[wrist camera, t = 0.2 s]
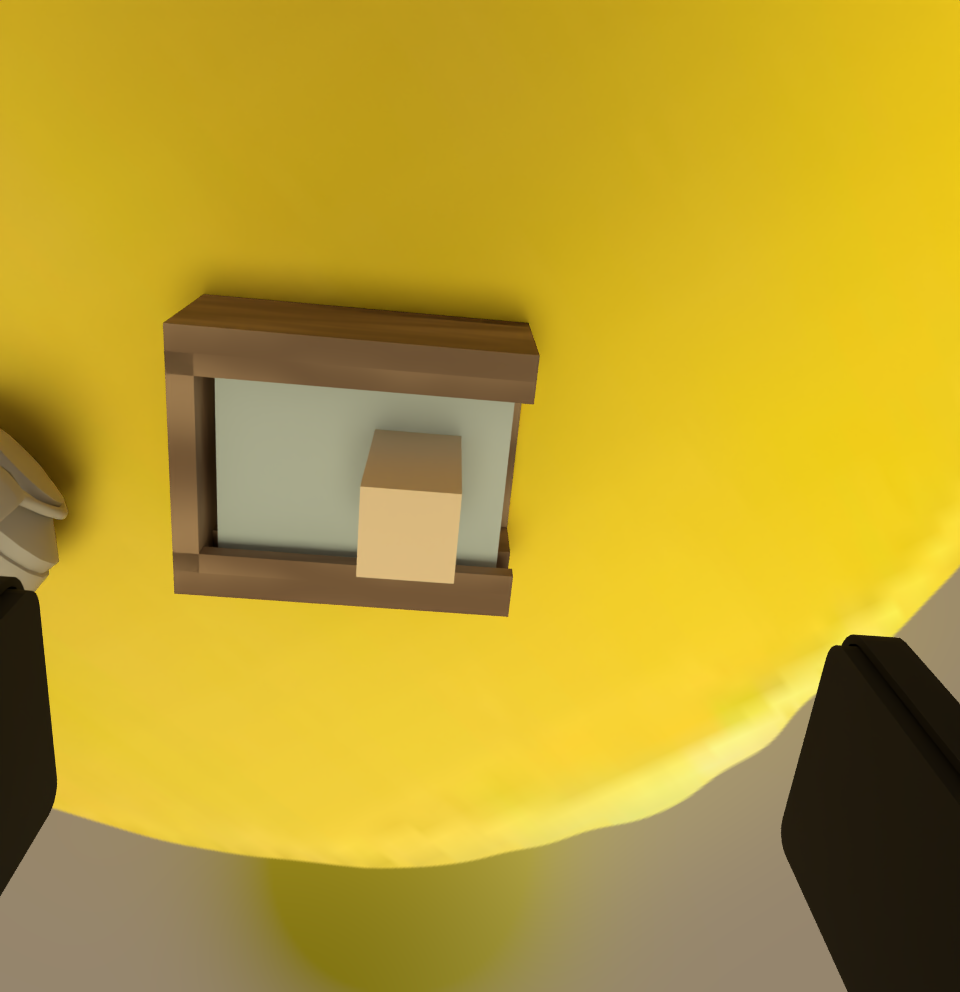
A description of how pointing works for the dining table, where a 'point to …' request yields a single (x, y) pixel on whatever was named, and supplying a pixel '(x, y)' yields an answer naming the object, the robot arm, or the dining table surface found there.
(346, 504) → the cover plate
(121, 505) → the dining table surface
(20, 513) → the headphones
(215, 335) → the walnut box
